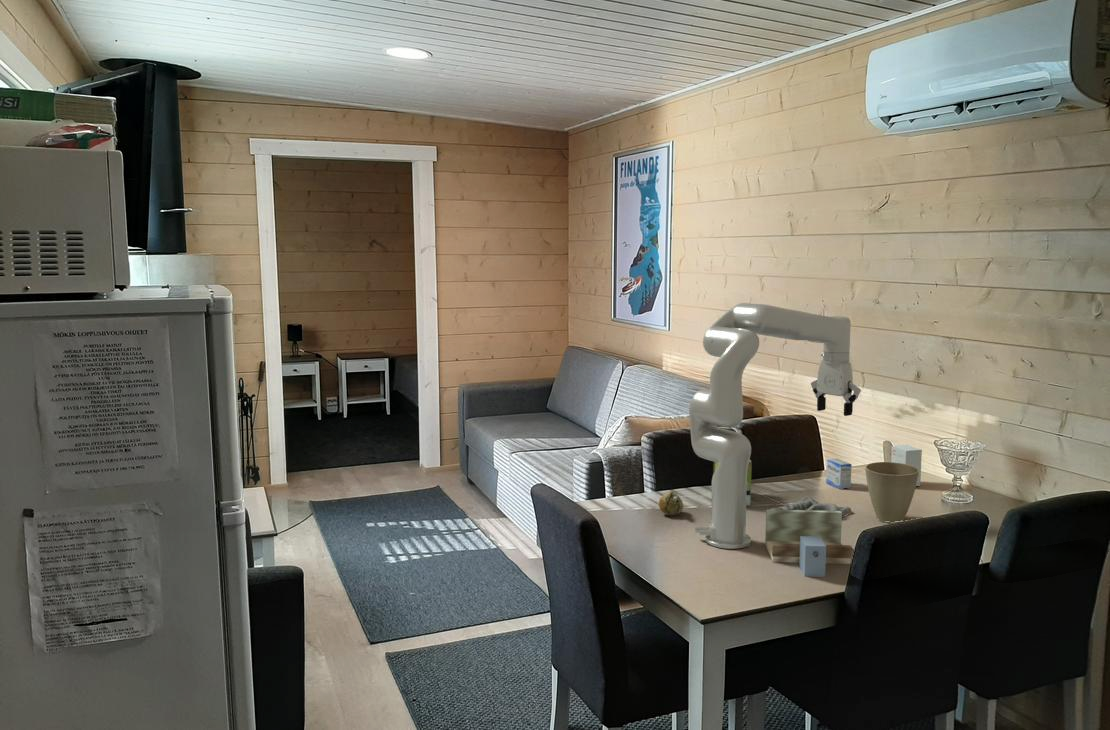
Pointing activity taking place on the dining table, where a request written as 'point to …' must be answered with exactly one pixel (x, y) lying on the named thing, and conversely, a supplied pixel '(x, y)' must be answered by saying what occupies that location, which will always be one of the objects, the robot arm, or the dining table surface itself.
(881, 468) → the plant pot
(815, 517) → the upright panel stand
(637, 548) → the dining table surface
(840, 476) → the medicine box
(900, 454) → the small box
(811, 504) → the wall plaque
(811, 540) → the cabinet block
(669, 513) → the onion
